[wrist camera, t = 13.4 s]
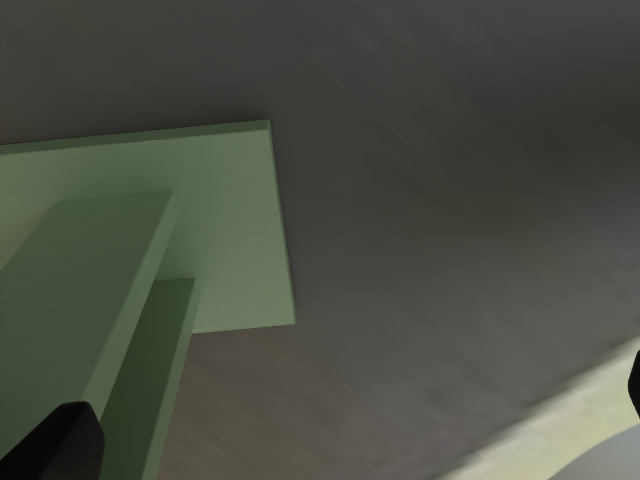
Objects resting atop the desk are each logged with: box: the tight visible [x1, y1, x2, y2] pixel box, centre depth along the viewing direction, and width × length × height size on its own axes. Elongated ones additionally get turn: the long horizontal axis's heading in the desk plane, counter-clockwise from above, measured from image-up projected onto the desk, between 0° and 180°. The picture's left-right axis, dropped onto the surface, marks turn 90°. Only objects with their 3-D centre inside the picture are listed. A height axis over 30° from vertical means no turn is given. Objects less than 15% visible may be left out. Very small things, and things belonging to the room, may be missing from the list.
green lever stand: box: [0, 119, 296, 480], centre depth 16 cm, size 12×9×14 cm
